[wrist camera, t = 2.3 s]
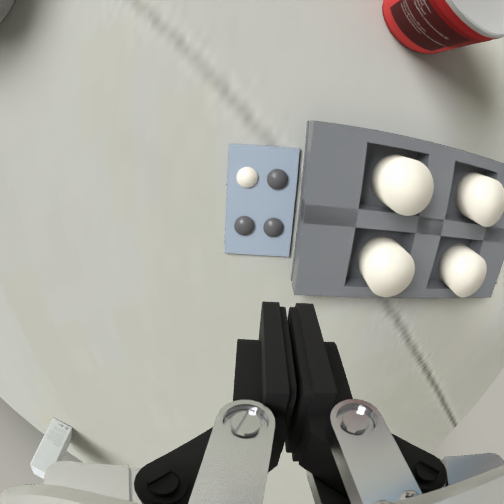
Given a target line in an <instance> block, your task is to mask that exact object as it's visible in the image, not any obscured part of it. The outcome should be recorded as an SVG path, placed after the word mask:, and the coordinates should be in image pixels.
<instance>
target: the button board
mask: <svg viewBox="0 0 504 504" xmlns="http://www.w3.org/2000/svg"><path fill="white" fill-rule="evenodd" d="M299 152H300V149H298V148H287V147H275V146H261V145H244V144H229V152H228V173H227V197H226V224H225V253H234V254H250V255H267V256H284V257H289V252H290V243H291V234H292V224H293V215H294V205H295V195H296V185H297V175H298V164H299ZM388 155H401V156H404V157H408V158H411V159H414V160H417V161H420V162H421V163H423V164H424V165H425V166H426V167H427V168H428V169H429V171H430V172H431V175H432V177H433V183H434V190H433V195H432V198H431V200H430V202H429V204H428V205H427V206H426V208H425V209H424V210H422V211H421V212H419V213H418V214H415V215H412V216H404V215H401V214H398V213H396V212H395V211H394V210H392V209H391V208H390V207H388V206H387V205H385V204H384V203H383V202H381V201H380V200H379V199H378V198H377V197H376V196H375V194H374V192H373V189H372V185H371V177H372V172H373V170H374V167H375V166H376V164H377V163H378V162H379V161H380V160H381V159H382V158H384V157H386V156H388ZM470 172H476V173H479V174H482V175H484V176H487V177H490V178H493V179H495V180H497V181H499V182H500V183H501V184H502V186H503V188H504V164H503V163H501V162H498V161H495V160H492V159H489V158H486V157H482V156H479V155H476V154H473V153H469V152H466V151H463V150H459V149H456V148H452V147H448V146H445V145H441V144H437V143H433V142H429V141H425V140H421V139H416V138H412V137H407V136H403V135H398V134H393V133H388V132H383V131H378V130H372V129H367V128H361V127H355V126H348V125H342V124H335V123H327V122H319V121H307V132H306V144H305V155H304V166H303V177H302V187H301V197H300V206H299V215H298V224H297V233H296V242H295V250H294V258H293V266H292V274H291V281H292V287H293V292H294V295H309V296H336V297H376V298H482V297H491V295H492V292H493V289H494V287H495V284H496V281H497V278H498V275H499V272H500V270H501V267H502V263H503V260H504V212H503V214H502V216H501V218H500V219H499V220H498V222H496V223H495V224H494V225H492V226H490V227H484V226H481V225H480V224H478V223H476V222H475V221H473V220H471V219H470V218H468V217H466V216H464V215H463V214H462V213H460V211H459V210H458V208H457V205H456V201H455V193H456V188H457V185H458V183H459V181H460V180H461V178H462V177H463V176H464V175H466V174H467V173H470ZM378 236H388V237H391V238H393V239H394V240H395V241H396V242H397V243H398V244H399V245H400V246H402V247H403V248H404V249H405V250H406V251H407V252H408V253H409V254H410V255H411V257H412V258H413V260H414V264H415V272H414V276H413V279H412V281H411V283H410V284H409V285H408V287H407V288H406V289H405V290H403V291H402V292H401V293H399V294H397V295H395V296H392V297H381V296H378V295H376V294H375V293H373V292H372V291H371V289H370V288H369V286H368V284H367V283H366V281H365V279H364V278H363V276H362V275H361V273H360V271H359V269H358V265H357V259H358V255H359V252H360V250H361V249H362V247H363V246H364V245H365V244H366V243H367V242H368V241H369V240H371V239H373V238H375V237H378ZM457 243H462V244H465V245H466V246H468V247H469V248H470V249H472V250H473V251H474V252H476V253H477V254H478V255H480V256H481V257H482V258H483V259H484V260H485V262H486V266H487V272H486V276H485V279H484V281H483V283H482V285H481V286H480V288H479V289H478V290H477V291H476V292H475V293H473V294H472V295H470V296H468V297H459V296H457V295H456V294H455V293H454V292H453V291H452V290H451V289H450V288H449V287H448V286H447V285H446V284H445V283H444V282H443V281H442V280H441V278H440V277H439V274H438V265H439V261H440V259H441V257H442V255H443V253H444V252H445V251H446V250H447V249H448V248H449V247H450V246H452V245H454V244H457Z"/></svg>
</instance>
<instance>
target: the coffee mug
mask: <svg viewBox="0 0 504 504" xmlns="http://www.w3.org/2000/svg"><path fill="white" fill-rule="evenodd" d="M14 2H15V0H0V23H1V22H2V21H3V19H4V18H5V17H6V15H7V14H8V12H9V11H10V9H11V7H12V6H13V4H14Z"/></svg>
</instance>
